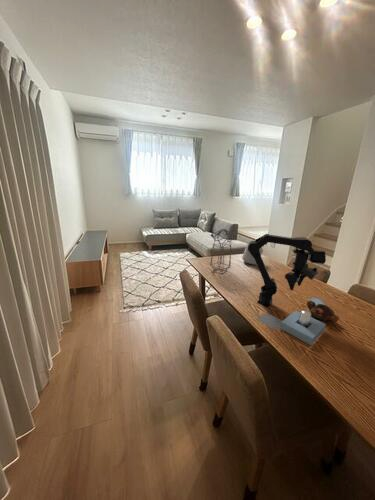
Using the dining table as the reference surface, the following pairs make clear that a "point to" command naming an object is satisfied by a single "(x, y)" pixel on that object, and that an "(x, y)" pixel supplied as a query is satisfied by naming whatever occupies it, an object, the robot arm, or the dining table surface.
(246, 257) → the jar
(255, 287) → the dining table surface
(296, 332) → the blue peg hole block
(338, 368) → the dining table surface
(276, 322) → the rubber mat
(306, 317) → the steel pin
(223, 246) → the geometric lantern
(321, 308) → the decorative turtle
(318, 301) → the smartphone
